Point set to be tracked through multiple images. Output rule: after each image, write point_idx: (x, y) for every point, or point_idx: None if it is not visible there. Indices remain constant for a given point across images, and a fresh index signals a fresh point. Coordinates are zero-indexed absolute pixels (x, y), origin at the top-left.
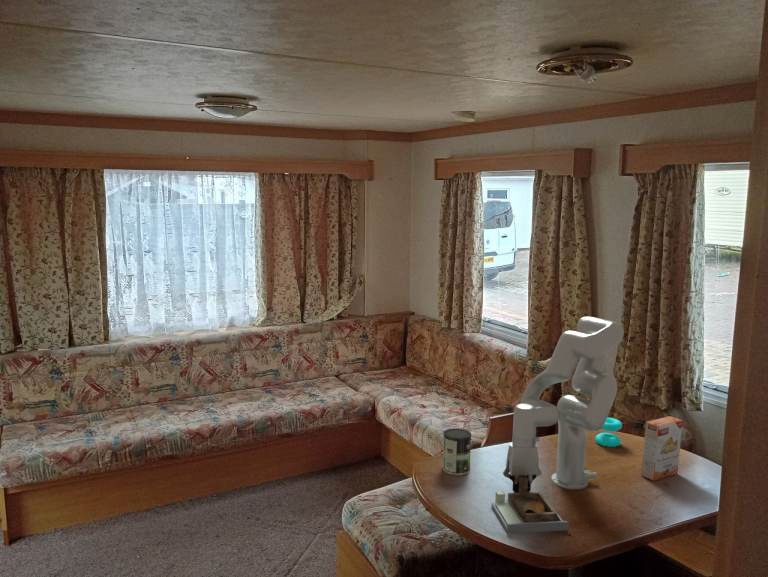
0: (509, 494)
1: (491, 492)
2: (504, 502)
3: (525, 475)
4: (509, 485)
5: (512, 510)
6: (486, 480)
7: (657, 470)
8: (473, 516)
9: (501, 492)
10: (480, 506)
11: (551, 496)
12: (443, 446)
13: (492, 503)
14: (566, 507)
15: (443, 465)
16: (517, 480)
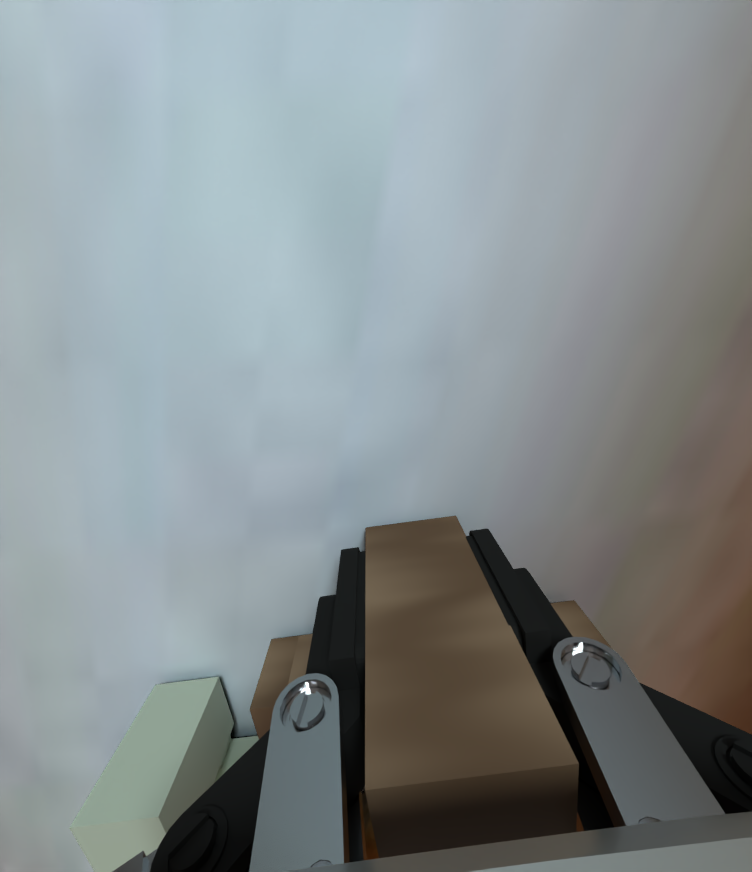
0: (262, 735)
1: (118, 483)
2: (221, 755)
3: (564, 814)
4: (337, 293)
5: None
6: (29, 134)
7: None
8: (5, 836)
9: (141, 848)
10: (38, 723)
11: (709, 530)
12: None
13: None
14: (732, 693)
15: None
16: (356, 845)
